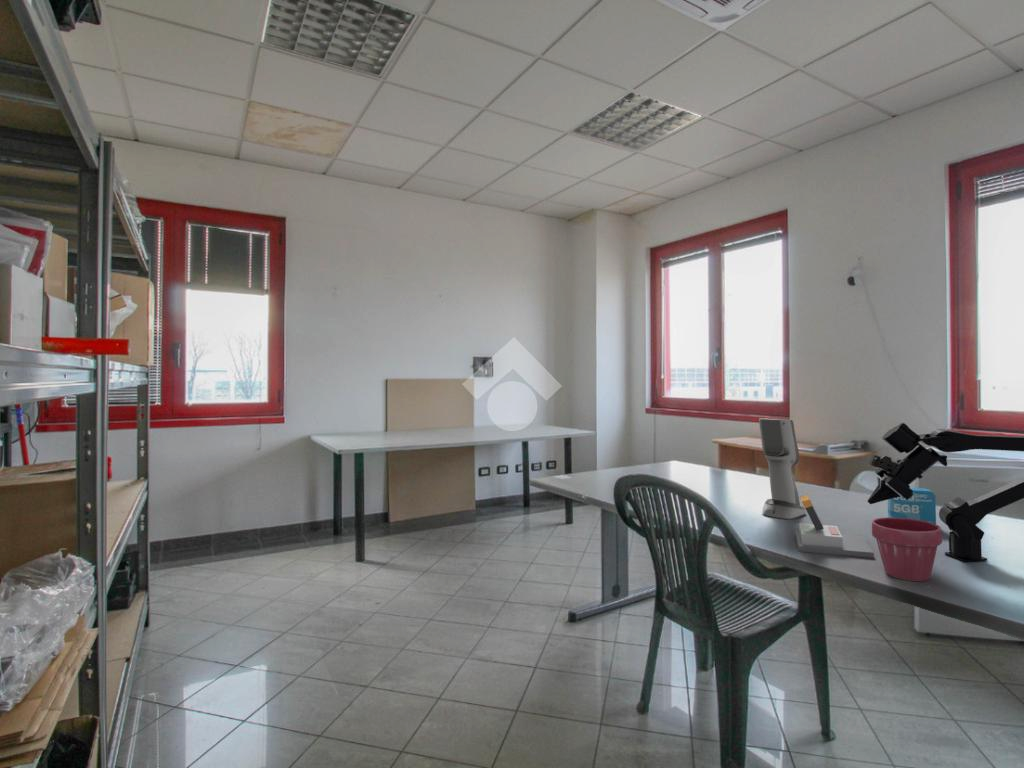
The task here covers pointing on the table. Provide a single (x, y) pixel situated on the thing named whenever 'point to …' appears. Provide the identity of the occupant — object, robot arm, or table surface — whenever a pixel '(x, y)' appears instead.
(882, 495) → the robot arm
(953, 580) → the table surface
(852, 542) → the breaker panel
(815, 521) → the lever
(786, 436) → the handheld scanner
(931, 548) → the plant pot
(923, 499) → the data package
